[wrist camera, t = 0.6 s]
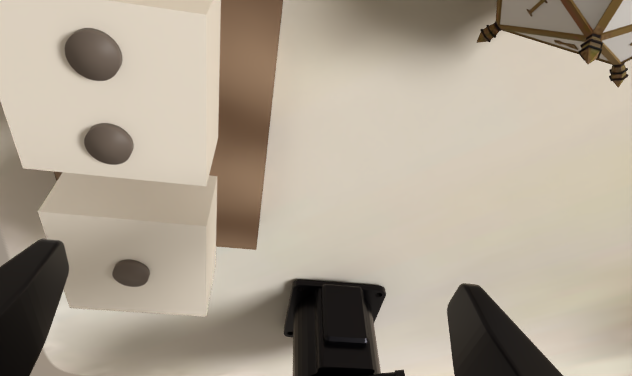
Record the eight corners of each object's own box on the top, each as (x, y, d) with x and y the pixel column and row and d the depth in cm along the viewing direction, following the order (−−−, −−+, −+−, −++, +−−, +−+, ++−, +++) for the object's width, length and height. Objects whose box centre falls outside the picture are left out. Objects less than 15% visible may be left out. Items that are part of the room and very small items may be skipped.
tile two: (218, 137, 18) (205, 192, 15) (59, 120, 17) (18, 173, 15) (221, -20, 14) (204, 18, 12) (17, -52, 13) (-49, -18, 11)
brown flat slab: (258, 224, 27) (256, 249, 26) (85, 209, 26) (71, 234, 24) (290, -73, 17) (289, -61, 15) (5, -122, 16) (-27, -114, 14)
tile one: (215, 265, 23) (205, 322, 21) (93, 256, 22) (67, 313, 20) (217, 176, 19) (205, 232, 17) (69, 161, 18) (33, 217, 16)
